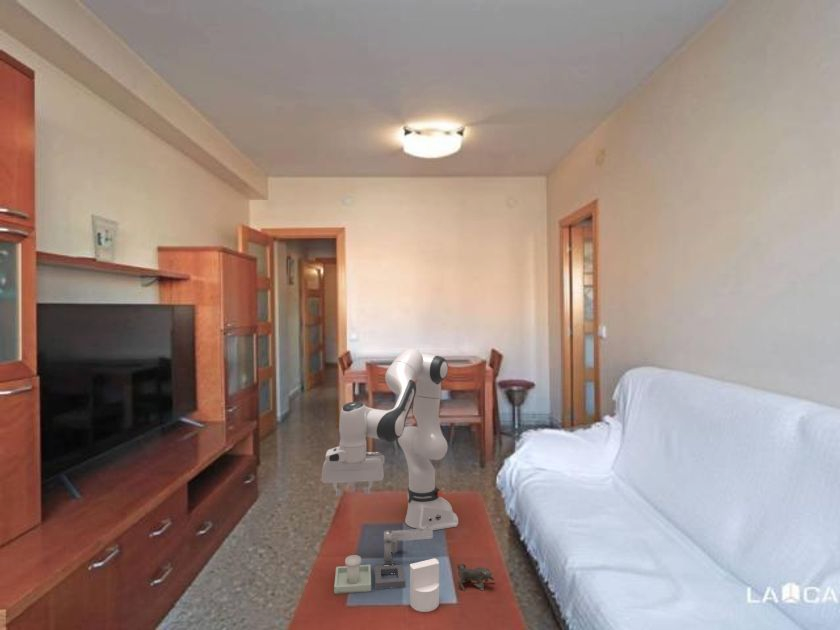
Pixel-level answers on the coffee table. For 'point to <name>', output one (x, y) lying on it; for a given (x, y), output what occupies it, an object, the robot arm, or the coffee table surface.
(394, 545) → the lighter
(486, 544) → the coffee table surface
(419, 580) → the cylinder with rectangular tab
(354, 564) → the plug
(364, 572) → the tray
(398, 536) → the grey square bar
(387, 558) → the socket
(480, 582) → the dog figurine
